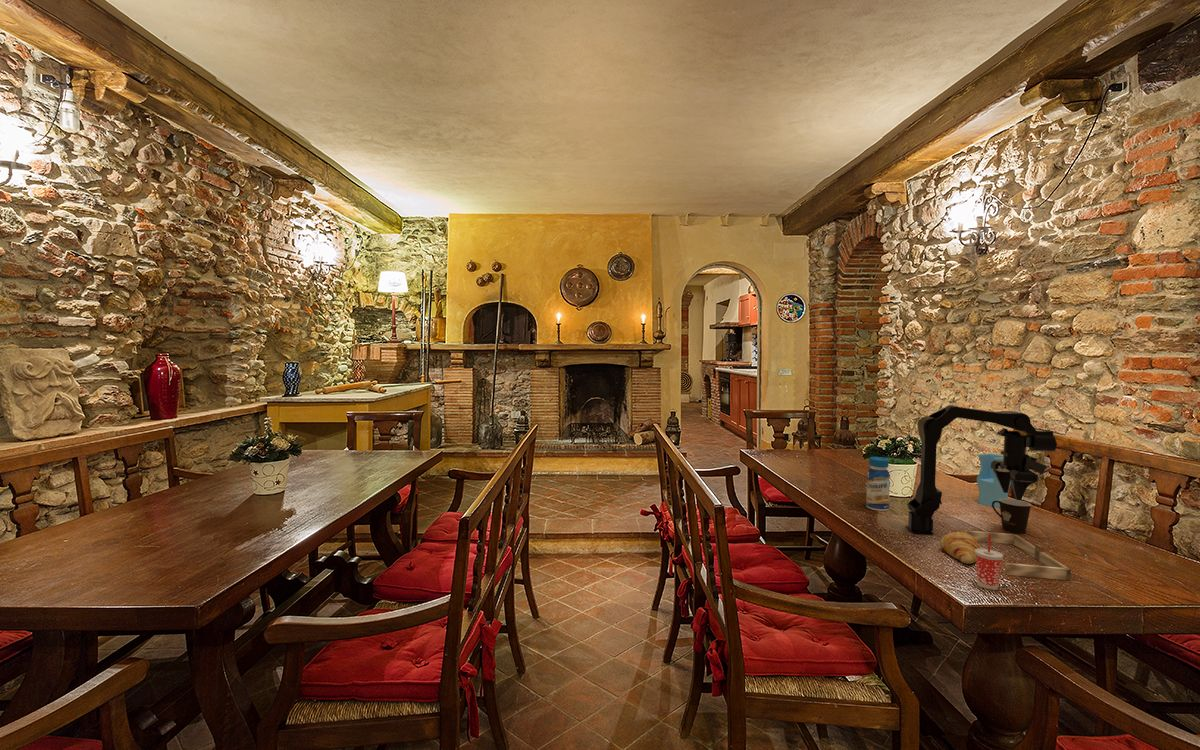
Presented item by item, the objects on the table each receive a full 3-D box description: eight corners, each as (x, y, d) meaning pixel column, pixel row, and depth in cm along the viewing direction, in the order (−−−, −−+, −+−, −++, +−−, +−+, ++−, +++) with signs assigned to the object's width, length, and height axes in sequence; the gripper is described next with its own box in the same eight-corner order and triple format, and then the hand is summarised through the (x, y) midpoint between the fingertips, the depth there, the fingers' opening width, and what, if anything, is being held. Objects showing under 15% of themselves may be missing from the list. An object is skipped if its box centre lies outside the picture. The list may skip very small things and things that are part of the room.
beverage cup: (984, 590, 137) (986, 538, 136) (967, 580, 143) (969, 530, 142) (1007, 590, 137) (1010, 538, 136) (990, 580, 143) (992, 530, 142)
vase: (975, 502, 215) (977, 454, 214) (990, 500, 217) (992, 453, 216) (994, 507, 208) (996, 458, 206) (1009, 506, 209) (1011, 457, 208)
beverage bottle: (891, 507, 207) (893, 458, 206) (886, 512, 201) (888, 461, 200) (868, 503, 213) (870, 455, 212) (862, 508, 207) (864, 458, 206)
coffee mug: (1035, 536, 177) (1036, 506, 176) (1006, 534, 178) (1007, 505, 178) (1015, 524, 188) (1016, 497, 187) (988, 522, 190) (989, 495, 189)
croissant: (979, 580, 151) (996, 558, 149) (944, 559, 154) (960, 538, 152) (961, 552, 170) (976, 532, 168) (930, 534, 173) (944, 515, 171)
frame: (1006, 574, 146) (1007, 559, 146) (963, 539, 174) (963, 526, 173) (1070, 580, 143) (1071, 564, 143) (1015, 543, 170) (1016, 530, 170)
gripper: (1059, 457, 161) (1056, 506, 162) (1029, 446, 179) (1026, 491, 180) (1017, 454, 164) (1014, 503, 165) (991, 444, 182) (989, 488, 183)
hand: (1012, 496), depth 173 cm, fingers open, 9 cm apart
